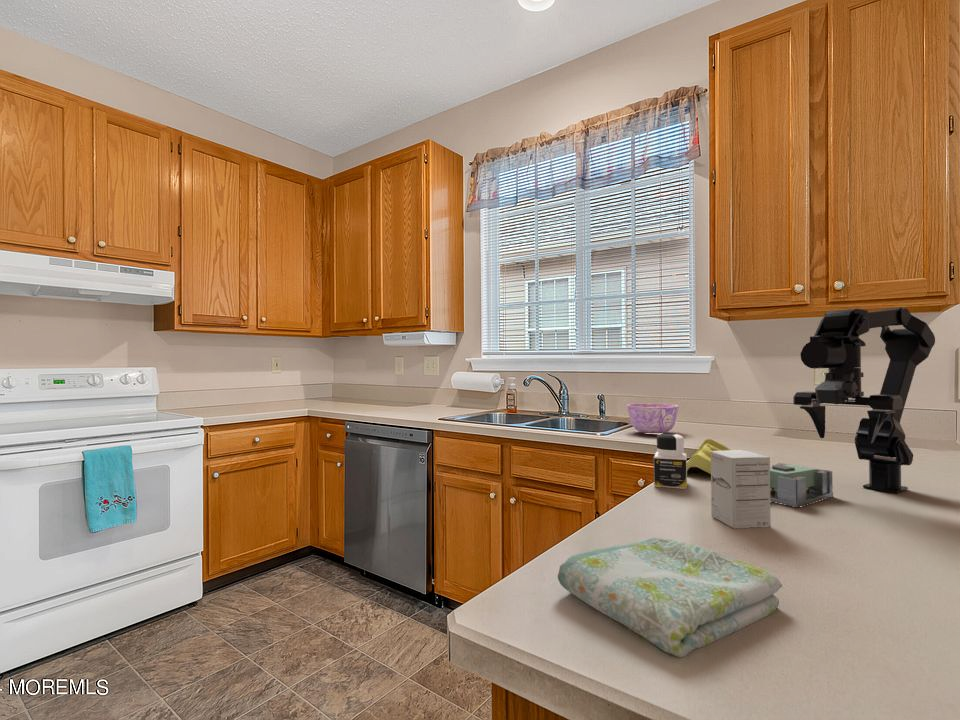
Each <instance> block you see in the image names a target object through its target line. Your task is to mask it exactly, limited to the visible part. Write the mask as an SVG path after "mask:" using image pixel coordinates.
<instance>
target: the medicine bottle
mask: <svg viewBox="0 0 960 720" xmlns="http://www.w3.org/2000/svg"><path fill="white" fill-rule="evenodd" d="M684 439H685V438H684V436H682V435H681V434H675V433H664V434H661V435H656V452H655V453H654V455H653V482H654V483H653V485H654V487H656V488H668V489H669V488H670V489H681V490H686V489H687V487H688V478H687V477H688V471H687V462H688V461H687V458H688V457H687V453H685V448H684V447H685V446H684V445H685V443H684V442H685V440H684Z"/></svg>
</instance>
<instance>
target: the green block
mask: <svg viewBox="0 0 960 720" xmlns="http://www.w3.org/2000/svg"><path fill="white" fill-rule="evenodd" d="M817 469H818V468H813V467H808V466H807V467H806V466H802V465H801V466H800V465H796V464H791V463H789V464H788V465H780V466H773V467H772V466H770V487H772V488H776V489H778V479H777V477H778V476H784V477H789V478H796V477H805V478H806V487H811V486H816V472H817Z"/></svg>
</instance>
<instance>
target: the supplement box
mask: <svg viewBox="0 0 960 720" xmlns="http://www.w3.org/2000/svg"><path fill="white" fill-rule="evenodd" d="M770 467H771V458H770V456H766V455H763V454H759V453H755V452H753V451H749V450H746V449H731V450H725V451H711V474H710V487H711V489H710V495H711V496H710V497H711V498H710V499H711V500H710V503H711V505H710V507H711V508H710V509H711V517H712V518H715V519H717V520H718V521H720V522H722V523H724V524H726V526H729V527H731V528H732V529H734V528H737V529H751V528H750V527H762V528H766V527H765V526H770V527H771V525H772V524H771V523H772V522H771V502H770Z"/></svg>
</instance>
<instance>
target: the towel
mask: <svg viewBox="0 0 960 720" xmlns="http://www.w3.org/2000/svg"><path fill="white" fill-rule="evenodd" d="M557 580H558V582H559V584H560V586H561V587H563V589H565V590H566V591H568V592H569V593H570V594H572V595H574V596H575V597H576V598H578V599H579V600H581V601H582V602H584V603H585V604H587V605H589V606H590V607H592V608H593V609H595V610H597V611H598V612H600V613H601V614H604V615H606V616H607V617H609V618H610V619H611V620H614V621H616V622H617V623H620V624H621V625H624V626H625V627H627V628H628V629H630V630H631V631H633V632H634V633H636V634H638V635H640V636H641V637H643V638H644V639H645V640H646V641H649V642H650V643H652V644H653V645H655V646H656V647H657V648H659V649H660V650H662V651H664V652H666V653H667V654H670V655H673V656H674V657H677V658H685V657H686V656H687V655H688V654H689V653H690V652H691V651H693V650H695V649H699V648H703V647H705V646H708V645H709V644H712V643H714V642H716V641H718V640H720V639H722V638H724V637H726V636H728V635H730V634H732V633H734V632H735V633H736V632H737V631H739V630H741V629H743V628H745V627H747V626H749V625H751V624H753V623H755V622H757V621H760V620H762V619H764V618H765V617H768V616H769V615H771V614H772V613H774V612H775V611H776V610H777V608H778V607H779V604H780V598H778V597H777V596H776V595H775V593H778V591H779V590H780V589H781V588H782V587H783V584H782V583H781V582H780V580H779V579H778V578H777V576H775V575H774V574H773V573H771V572H769V571H768V570H765V569H764V568H762V567H759V566H757V565H754V564H751V563H748V562H746V561H744V560H740V559H738V558H734V557H731V556H730V555H729V556H728V555H726V554H722V553H720V552H717V551H714V550H712V549H709V548H705V547H703V546H699V545H696V544H693V543H688V542H683V541H678V540H673V539H668V538H658V537H652V538H648V539H645V540H642V541H638V542H633V543H629V544H622V545H615V546H609V547H604V548H598V549H592V550H588V551H584V552H582V553H578V554H575V555H572V556H570V557H569V558H566V560H565V561H564V562H563V563H562V564H560V565H559V569H558V574H557Z"/></svg>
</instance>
